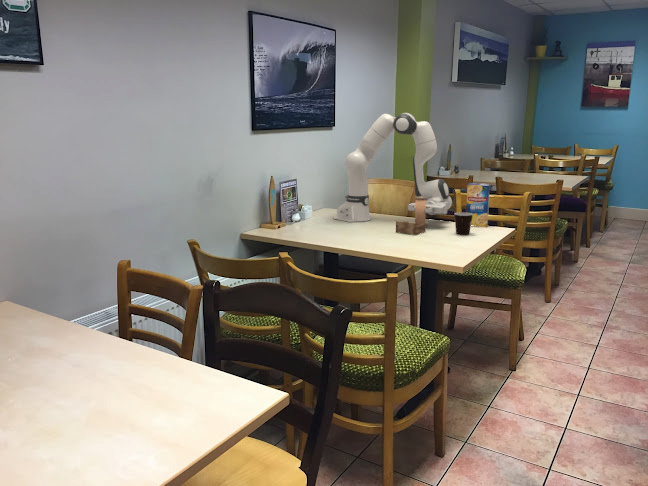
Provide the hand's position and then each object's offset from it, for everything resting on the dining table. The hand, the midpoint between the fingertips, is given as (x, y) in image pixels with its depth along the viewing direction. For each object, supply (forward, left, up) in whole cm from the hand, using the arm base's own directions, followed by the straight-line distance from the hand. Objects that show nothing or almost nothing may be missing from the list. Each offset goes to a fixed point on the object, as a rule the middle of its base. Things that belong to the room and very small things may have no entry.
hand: (419, 210), depth 279 cm
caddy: (0, -8, -10) cm, 13 cm away
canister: (0, +1, -8) cm, 8 cm away
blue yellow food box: (+20, +26, -10) cm, 34 cm away
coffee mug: (+23, +1, -10) cm, 25 cm away
